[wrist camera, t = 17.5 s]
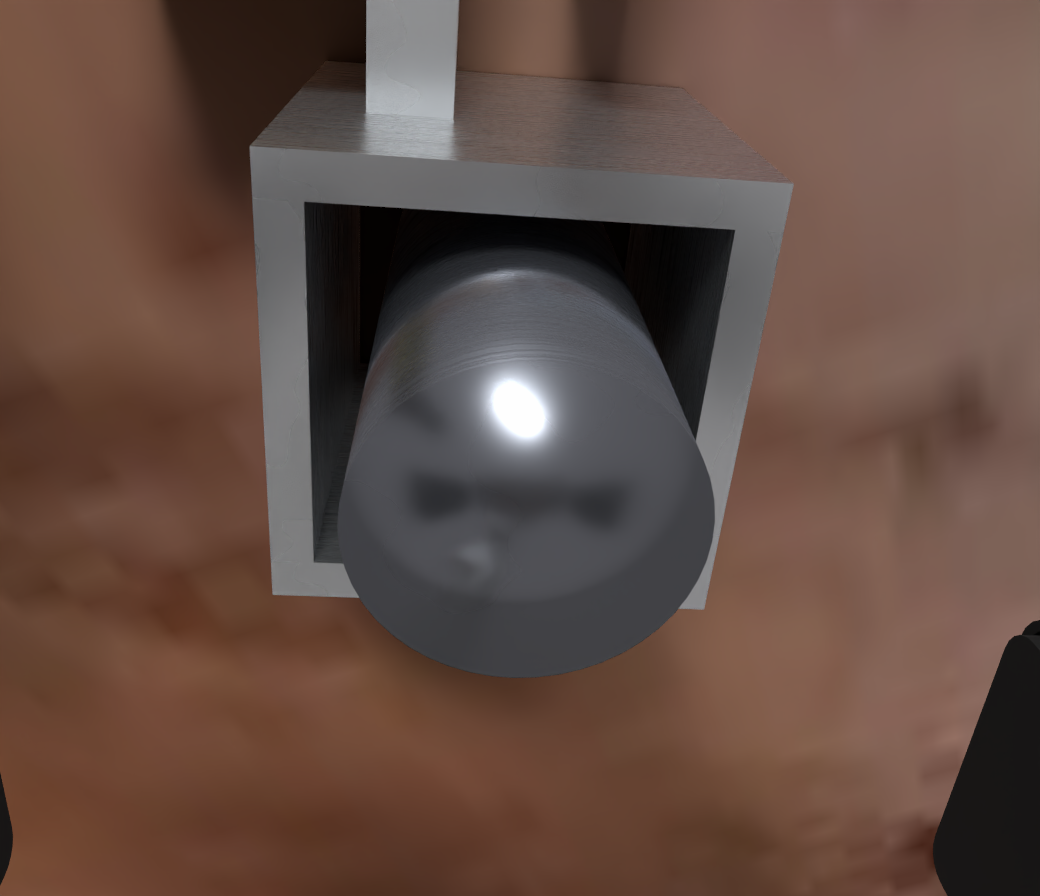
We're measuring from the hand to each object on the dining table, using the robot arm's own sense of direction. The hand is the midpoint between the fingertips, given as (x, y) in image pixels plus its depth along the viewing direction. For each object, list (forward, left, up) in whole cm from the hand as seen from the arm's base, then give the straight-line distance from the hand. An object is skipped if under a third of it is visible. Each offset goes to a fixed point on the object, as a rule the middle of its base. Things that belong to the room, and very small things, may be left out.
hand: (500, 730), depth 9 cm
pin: (+1, 0, -12) cm, 12 cm away
